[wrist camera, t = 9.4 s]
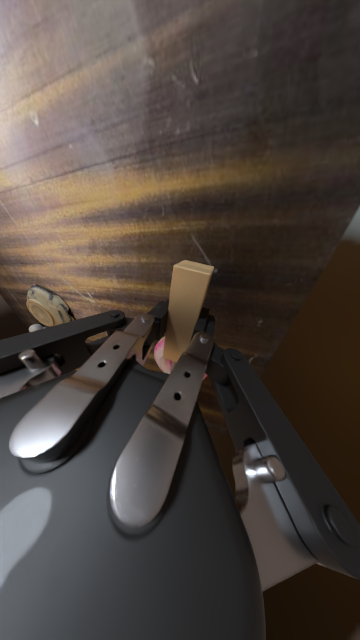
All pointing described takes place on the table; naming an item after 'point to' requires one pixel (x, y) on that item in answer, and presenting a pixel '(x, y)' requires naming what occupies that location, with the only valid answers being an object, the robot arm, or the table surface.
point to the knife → (184, 306)
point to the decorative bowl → (47, 307)
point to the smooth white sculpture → (35, 327)
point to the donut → (163, 362)
